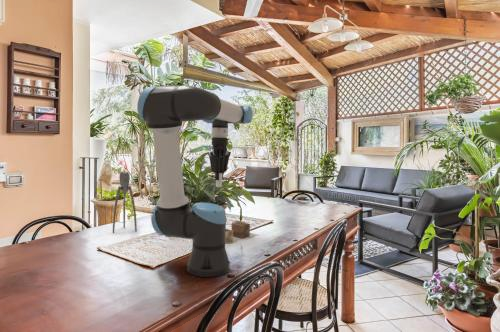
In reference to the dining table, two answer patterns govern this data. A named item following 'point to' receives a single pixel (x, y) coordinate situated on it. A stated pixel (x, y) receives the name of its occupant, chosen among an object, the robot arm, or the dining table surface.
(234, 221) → the oak block
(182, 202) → the robot arm
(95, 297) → the dining table surface
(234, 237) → the felt mat
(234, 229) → the walnut block
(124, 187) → the juicer
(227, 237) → the oak block
